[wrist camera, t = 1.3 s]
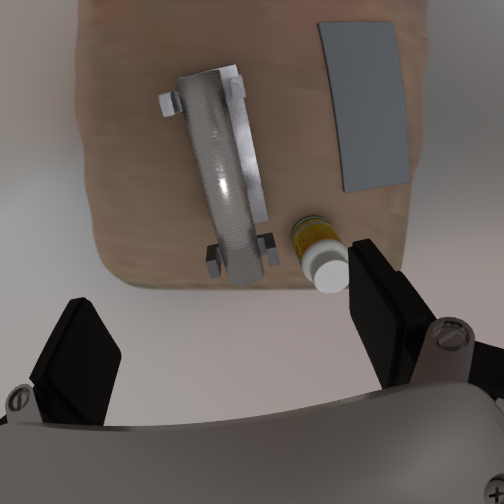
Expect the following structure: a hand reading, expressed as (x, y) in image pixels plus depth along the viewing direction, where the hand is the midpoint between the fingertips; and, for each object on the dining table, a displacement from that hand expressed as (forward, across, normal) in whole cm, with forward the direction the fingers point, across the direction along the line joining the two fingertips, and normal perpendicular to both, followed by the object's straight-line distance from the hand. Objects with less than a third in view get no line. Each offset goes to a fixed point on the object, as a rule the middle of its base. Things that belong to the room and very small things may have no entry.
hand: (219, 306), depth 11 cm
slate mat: (+26, -17, -3) cm, 31 cm away
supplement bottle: (+26, -8, +12) cm, 30 cm away
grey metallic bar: (+14, 0, 0) cm, 14 cm away
